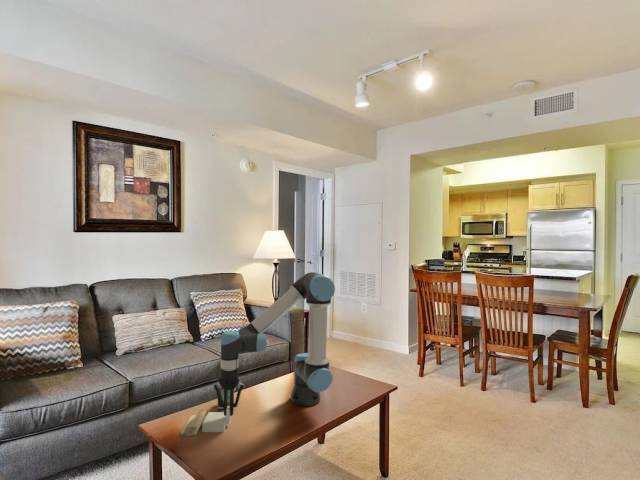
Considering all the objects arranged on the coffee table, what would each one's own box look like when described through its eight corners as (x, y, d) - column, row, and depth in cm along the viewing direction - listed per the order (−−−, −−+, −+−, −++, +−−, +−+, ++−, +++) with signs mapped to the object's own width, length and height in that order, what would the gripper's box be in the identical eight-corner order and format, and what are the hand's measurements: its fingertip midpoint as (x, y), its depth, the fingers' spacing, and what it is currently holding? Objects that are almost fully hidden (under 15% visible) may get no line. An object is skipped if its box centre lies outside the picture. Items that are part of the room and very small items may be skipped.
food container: (228, 413, 177) (229, 391, 177) (216, 411, 178) (216, 390, 178) (239, 401, 189) (239, 381, 189) (227, 400, 190) (228, 380, 190)
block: (228, 421, 169) (229, 412, 169) (224, 432, 159) (224, 423, 159) (208, 421, 169) (208, 412, 169) (202, 432, 159) (202, 423, 159)
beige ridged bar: (206, 417, 172) (206, 409, 172) (196, 435, 156) (196, 427, 156) (191, 417, 172) (192, 409, 172) (180, 435, 156) (180, 426, 156)
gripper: (246, 365, 168) (245, 418, 168) (216, 365, 168) (215, 418, 168) (243, 371, 161) (242, 427, 161) (212, 370, 160) (211, 427, 160)
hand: (228, 422), depth 164 cm, fingers closed
